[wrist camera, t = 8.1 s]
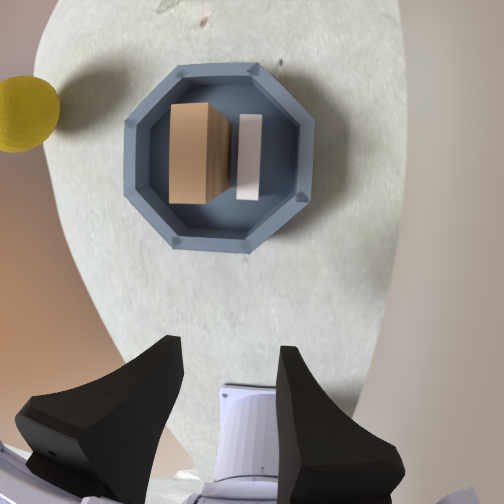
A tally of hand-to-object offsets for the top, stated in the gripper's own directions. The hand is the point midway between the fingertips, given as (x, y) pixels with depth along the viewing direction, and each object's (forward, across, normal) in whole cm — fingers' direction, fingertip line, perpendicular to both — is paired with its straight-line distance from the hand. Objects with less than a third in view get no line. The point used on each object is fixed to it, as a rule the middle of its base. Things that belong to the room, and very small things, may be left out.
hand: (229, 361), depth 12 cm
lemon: (+10, +16, -12) cm, 22 cm away
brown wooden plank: (+9, +2, -8) cm, 12 cm away
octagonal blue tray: (+9, +2, -8) cm, 13 cm away
